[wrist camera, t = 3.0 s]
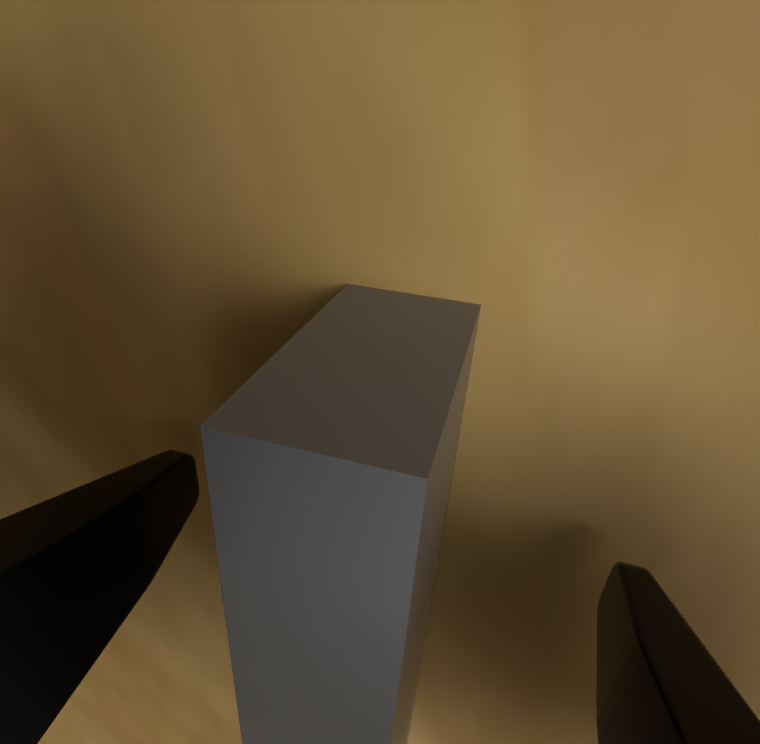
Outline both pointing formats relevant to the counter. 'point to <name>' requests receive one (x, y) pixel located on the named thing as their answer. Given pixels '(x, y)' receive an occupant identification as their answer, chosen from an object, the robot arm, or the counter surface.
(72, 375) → the counter surface
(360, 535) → the grey t-shaped bar
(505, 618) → the counter surface
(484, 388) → the counter surface
